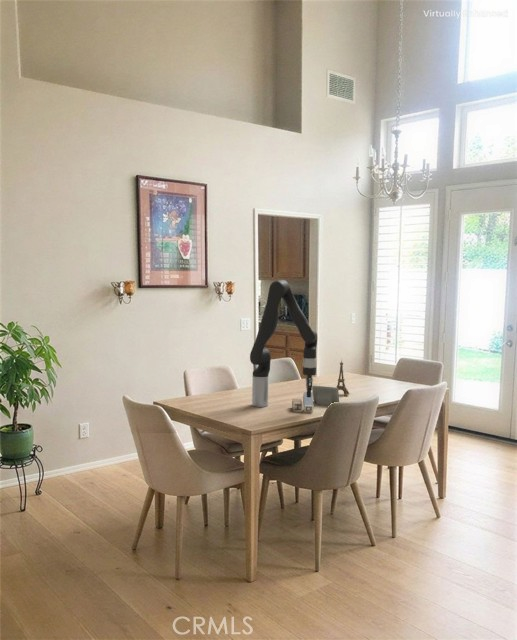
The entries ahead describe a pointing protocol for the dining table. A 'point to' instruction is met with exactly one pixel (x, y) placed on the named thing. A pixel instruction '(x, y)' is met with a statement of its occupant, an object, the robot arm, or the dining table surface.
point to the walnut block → (297, 405)
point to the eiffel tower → (342, 381)
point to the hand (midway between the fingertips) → (308, 397)
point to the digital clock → (325, 395)
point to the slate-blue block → (308, 402)
